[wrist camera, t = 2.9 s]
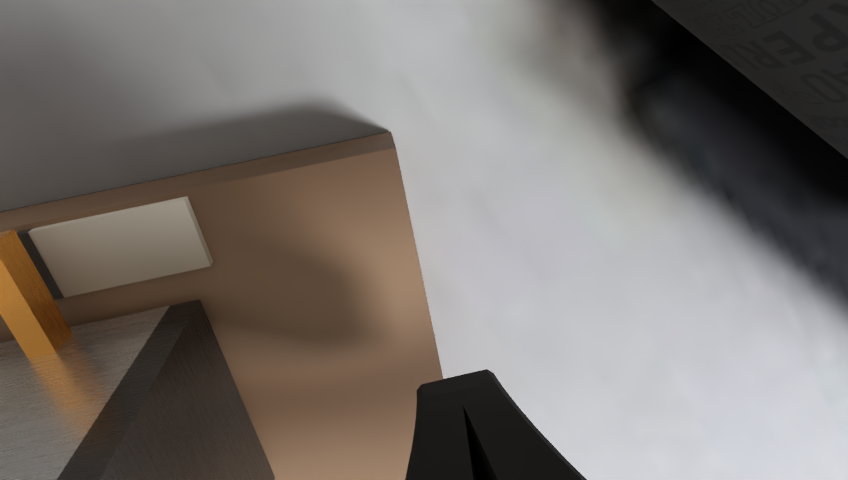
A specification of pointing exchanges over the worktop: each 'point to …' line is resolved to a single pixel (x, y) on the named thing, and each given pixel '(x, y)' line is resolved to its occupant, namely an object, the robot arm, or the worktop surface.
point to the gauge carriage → (115, 392)
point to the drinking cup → (782, 53)
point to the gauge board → (269, 291)
